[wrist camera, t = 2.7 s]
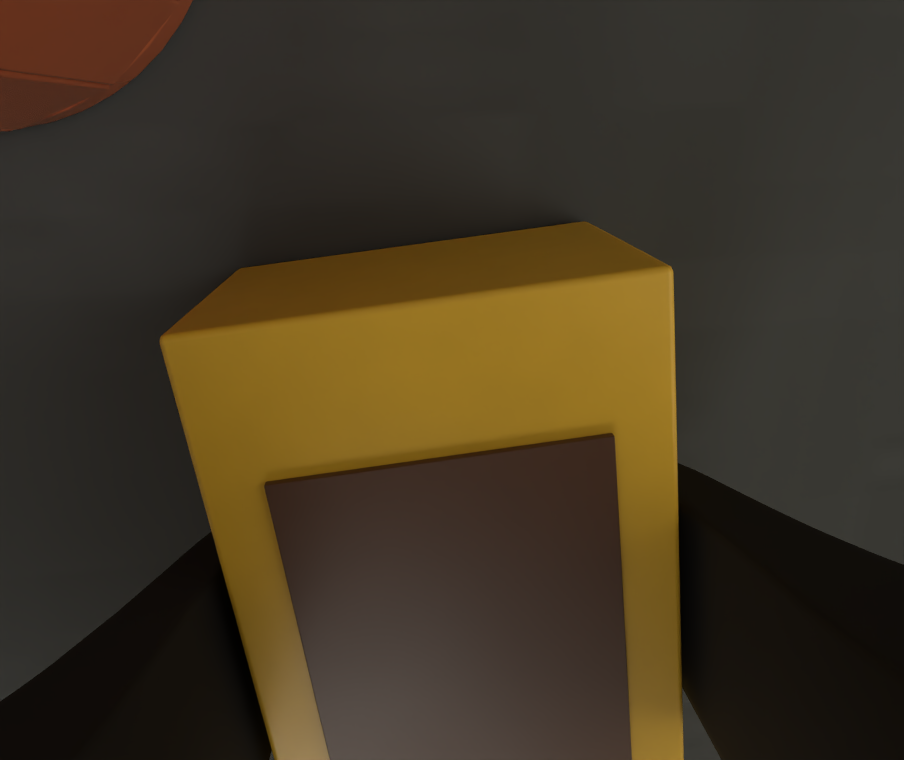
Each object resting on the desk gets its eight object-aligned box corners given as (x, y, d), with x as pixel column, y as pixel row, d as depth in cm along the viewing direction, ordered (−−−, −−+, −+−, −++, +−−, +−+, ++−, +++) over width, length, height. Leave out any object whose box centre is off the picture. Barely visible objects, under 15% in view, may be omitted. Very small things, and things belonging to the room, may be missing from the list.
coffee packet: (616, 693, 13) (690, 892, 10) (342, 732, 13) (321, 948, 10) (587, 220, 10) (680, 266, 7) (236, 268, 10) (151, 340, 7)
